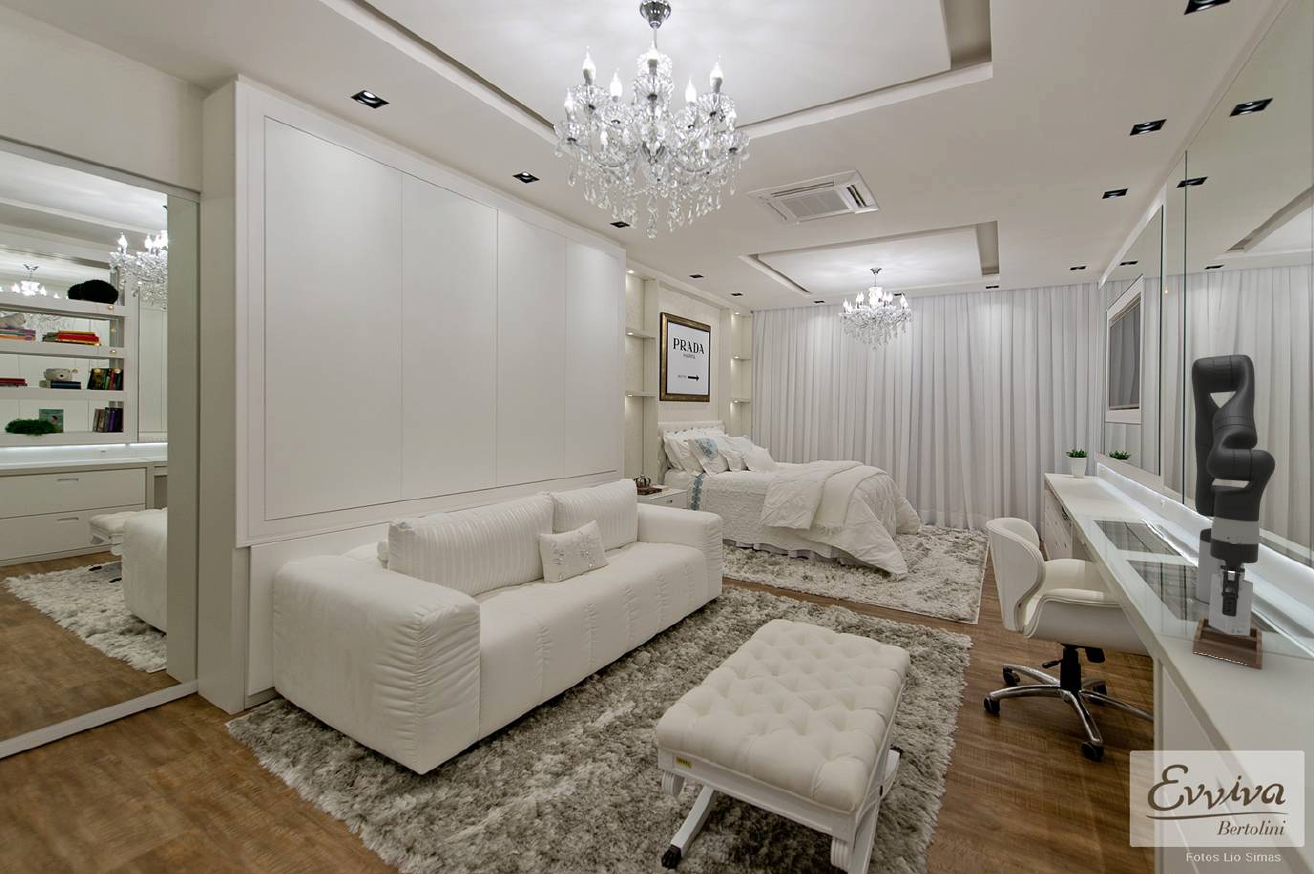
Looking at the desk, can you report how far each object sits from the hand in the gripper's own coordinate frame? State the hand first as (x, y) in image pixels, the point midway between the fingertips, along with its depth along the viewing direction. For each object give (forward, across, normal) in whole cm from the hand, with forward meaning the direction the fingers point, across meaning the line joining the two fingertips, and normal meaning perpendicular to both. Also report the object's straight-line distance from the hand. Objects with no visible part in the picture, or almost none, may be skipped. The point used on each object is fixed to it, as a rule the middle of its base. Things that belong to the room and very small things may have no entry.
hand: (1229, 610), depth 128 cm
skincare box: (+5, 0, 0) cm, 5 cm away
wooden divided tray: (+10, -5, 0) cm, 11 cm away
